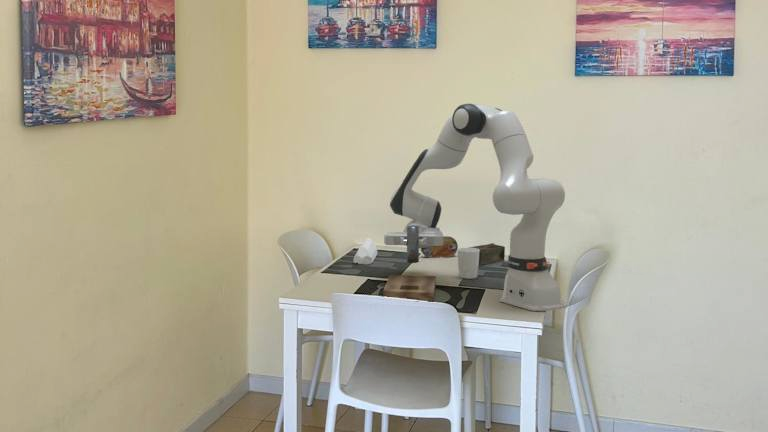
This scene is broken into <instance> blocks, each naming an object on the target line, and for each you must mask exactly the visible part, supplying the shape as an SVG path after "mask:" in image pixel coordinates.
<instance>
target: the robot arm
mask: <svg viewBox="0 0 768 432" xmlns="http://www.w3.org/2000/svg"><path fill="white" fill-rule="evenodd" d="M527 137H528V136H527V134H526V132H525V129H524V127H523V125H522V123H521V121H520V119H519V118H518V116H517V115H516V114H515V112H514V111H512V110H507V109H506V110H505V109H504V110H502V109H500V108H497V107H492V106H488V105H484V104H474V103H463V104H460V105H458V106H457V107H456V109H455V110H454V111H453V114H452V115H450V116H449V117H448V119H447V120H446V122H445V123H444V125H443V127H442V129H441V130H440V133H439V135H438V137H437V139H436V142H435V143H434V144H433V145H432V146H431V147H430V148H428V149H427V148H426V149H424V150H423V151H422V152H421V153H420V154H419V155H418V157H417V159H416V160H415V161H414V163H413V164H412V166H411V167H410V169H409V171H408V172H407V174H406V175H405V178H404V179H403V181H402V182H401V184H400V186H399V187H397V189H396V190H395V191H393V194H392V195H391V198H390V202H389V207H390V208H391V210H392V212H393V214H395V215H399V216H401V217H405V218H408V219H409V220H410V221H409V222H408V223H407V224H406V226H405V227H404V229H403V231H389V232H386V233H385V234H384V237H383V238H384V239H383V241H384V245H386V246H406V247H407V226H419V250H421V248H424V247H432V246H443V237H444V233H443V231H441V229H440V227H437V226H438V224H439V220H440V218H441V214H442V206H441V203H440V201H439V200H437V199H435V198H433V197H430V196H426V195H424V194H421V193H419V192H417V191H414V190H413V189H412V188H413V187H414V184H416V182H417V180H418V178H419V177H420V175H421V174H422V173H424V172H425V171H427V170H449V169H454V168H457V167H458V166H459V165H460V164H461V163H462V162H463V161H464V159H465V156H466V154H467V152H468V150H469V146H470V145H471V142H472V140H473V139H476V138H477V139H482V140H483V139H484V140H491V143H492V146H493V150H494V152H495V155H496V158H497V161H498V165H499V168H500V180H499V182H498V184H497V185H496V186H495V188H494V189H493V193H492V203H493V205H494V208H495V209H496V210H497V211H498V212H499V213H501V214H505V215H510V216H517V215H519V216H520V215H522V217H521V219H520V221H519V223H518V224H517V225H516V226H514V227H513V229H512V230H511V232H510V238H509V255H508V259H507V267H508V270H507V273H506V274H505V278H504V285H503V294H502V296H501V297H500V298H499V302H500V303H501V302H502V303H504V304H507V305H511V306H514V307H517V308H521V309H525V310H528V311H533V312H548V311H555V310H556V311H557V310H563V309H566V308H568V307H569V303H567V302H566V301H564V300H563V299H561V296H562V295H561V293H562V292H561V288H560V284H559V283H558V282H557V281H556V280H555V279H554V277H553V276H552V275H551V273H550V271H549V270H548V269H549V268H548V267H549V266H550V264H549V263H550V261H547V258H546V256H545V254H546V252H545V251H546V240H547V239H546V238H547V237H546V236H547V232H548V228H549V225H550V222H551V220H552V218H553V217H554V215H555V213H556V212H557V211H558V210H559V209H560V208H561V207H562V206H563V204H564V201H565V198H566V193H565V192H566V191H565V188H564V187H563V184H561V182H560V181H557V180H554V179H551V178H545V177H544V178H543V177H542V178H530V177H529V176H528V170H527V169H529V168H530V166H531V165H532V163H533V162H534V153H533V151H532V148H531V145H530V143H529V139H528V138H527Z"/></svg>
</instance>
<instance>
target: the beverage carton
mask: <svg viewBox="0 0 768 432" xmlns="http://www.w3.org/2000/svg"><path fill="white" fill-rule="evenodd" d="M467 248H477V249H479V250H480V252H479V265H478V267H480V266H484V264H485V265H489V263H490V264H495V263H499V262H501V261H503V262H504V261H505V254H506V253H505V250H506V247H505V246H504V245H499V244H495V243H493V242H492V243H489V244H481V245H475V246H469V247H468V246H467ZM494 262H495V263H494Z"/></svg>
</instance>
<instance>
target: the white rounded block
mask: <svg viewBox="0 0 768 432" xmlns="http://www.w3.org/2000/svg"><path fill="white" fill-rule="evenodd" d="M377 255H378V248H377V245H376V244H375V242H374V240H372V239H371V237H367V238H366V239H364V241H363V242H362V244H361V246H360V247H359V248H358V250H357V251H356V253H355V255H354V257H353V259H352V260H353V261H352V263H354V264H356V263H358V264H357V265H370V264H373V263H374V261H375V259H376V257H377Z"/></svg>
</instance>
